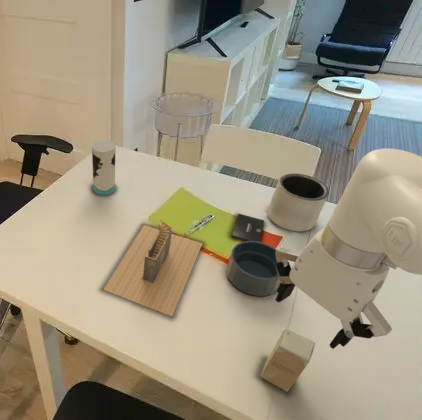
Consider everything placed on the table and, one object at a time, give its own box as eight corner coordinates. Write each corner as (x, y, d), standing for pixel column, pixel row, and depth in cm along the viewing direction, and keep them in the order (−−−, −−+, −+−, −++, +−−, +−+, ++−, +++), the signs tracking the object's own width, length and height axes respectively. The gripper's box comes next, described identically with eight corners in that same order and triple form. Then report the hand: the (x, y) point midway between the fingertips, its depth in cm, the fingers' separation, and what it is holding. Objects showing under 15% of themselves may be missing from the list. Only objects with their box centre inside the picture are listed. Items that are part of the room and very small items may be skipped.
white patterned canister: (115, 182, 118) (115, 140, 109) (114, 195, 113) (115, 152, 104) (93, 182, 118) (92, 139, 109) (92, 194, 113) (91, 151, 104)
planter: (297, 202, 110) (311, 170, 103) (324, 230, 101) (340, 197, 94) (258, 206, 109) (269, 175, 102) (281, 235, 99) (294, 202, 92)
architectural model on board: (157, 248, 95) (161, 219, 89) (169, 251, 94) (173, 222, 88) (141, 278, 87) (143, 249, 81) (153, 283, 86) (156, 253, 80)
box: (259, 377, 69) (277, 344, 62) (266, 359, 72) (284, 326, 65) (289, 393, 67) (310, 361, 60) (295, 374, 70) (316, 341, 63)
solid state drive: (263, 222, 103) (264, 220, 103) (258, 245, 96) (259, 243, 96) (237, 215, 105) (238, 213, 105) (231, 237, 98) (231, 235, 98)
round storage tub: (290, 283, 87) (298, 265, 83) (255, 305, 82) (262, 288, 78) (249, 251, 94) (255, 234, 91) (215, 270, 89) (220, 253, 86)
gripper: (444, 274, 44) (375, 350, 55) (313, 197, 55) (278, 273, 66) (411, 302, 41) (346, 377, 52) (279, 214, 52) (249, 291, 63)
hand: (308, 319), depth 59 cm, fingers open, 9 cm apart
